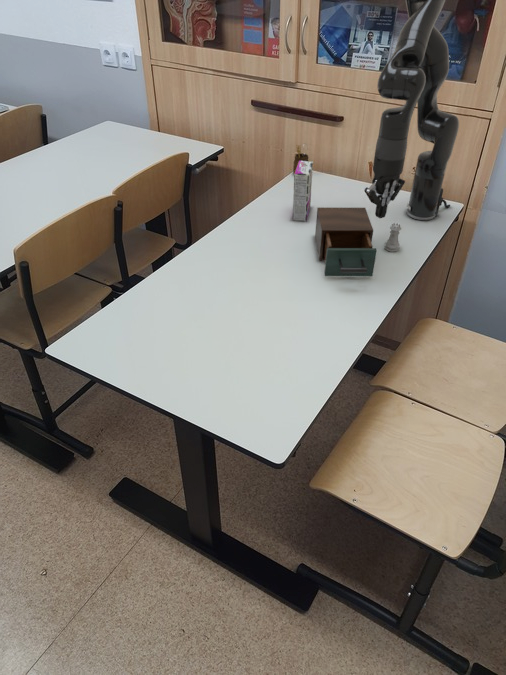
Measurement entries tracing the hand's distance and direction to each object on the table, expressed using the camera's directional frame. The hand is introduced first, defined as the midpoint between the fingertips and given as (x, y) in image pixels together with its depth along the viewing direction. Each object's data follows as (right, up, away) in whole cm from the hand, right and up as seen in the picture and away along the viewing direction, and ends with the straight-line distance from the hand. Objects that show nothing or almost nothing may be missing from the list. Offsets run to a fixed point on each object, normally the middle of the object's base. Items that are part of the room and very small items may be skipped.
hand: (380, 216), depth 145 cm
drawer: (-8, -13, +7) cm, 17 cm away
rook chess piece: (+8, -6, +18) cm, 21 cm away
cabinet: (-8, -6, +18) cm, 21 cm away
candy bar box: (-18, +9, +36) cm, 42 cm away
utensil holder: (-16, +31, +63) cm, 72 cm away
